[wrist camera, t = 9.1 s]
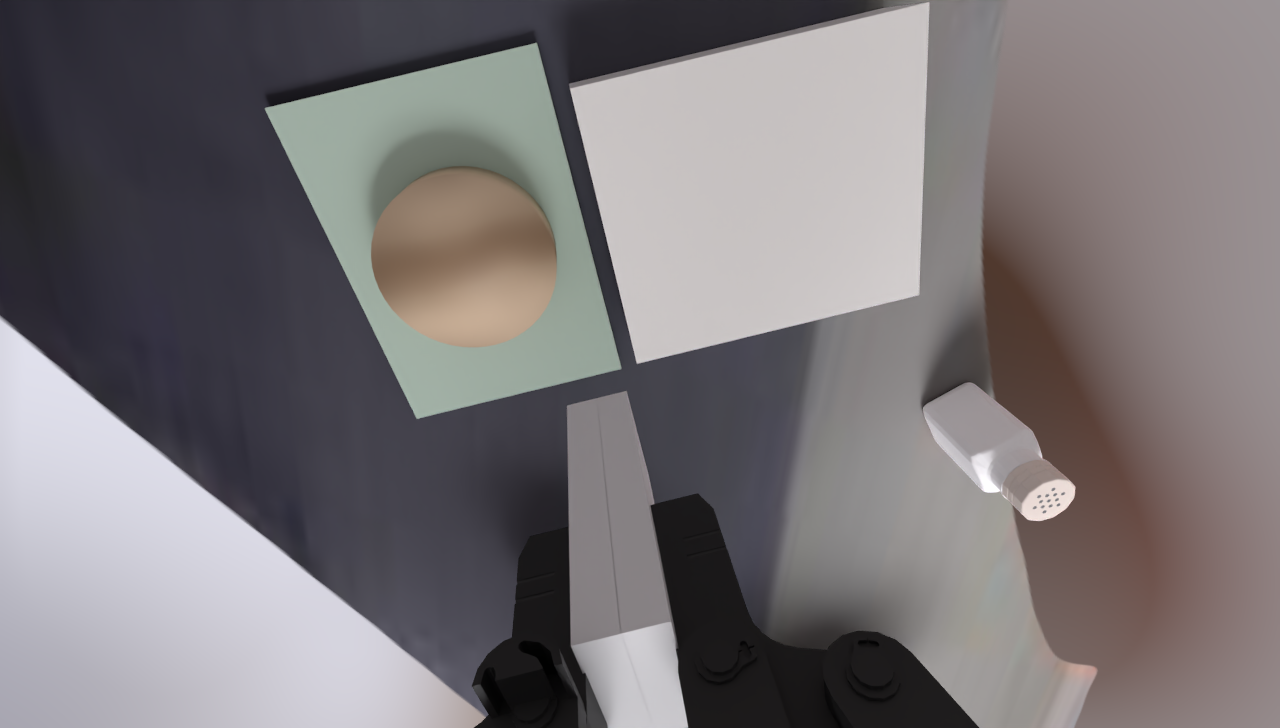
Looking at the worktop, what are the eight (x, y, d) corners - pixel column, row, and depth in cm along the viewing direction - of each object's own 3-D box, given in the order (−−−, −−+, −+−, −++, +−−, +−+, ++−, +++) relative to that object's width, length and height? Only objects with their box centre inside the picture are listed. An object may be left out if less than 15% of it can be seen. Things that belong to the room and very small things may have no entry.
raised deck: (883, 270, 35) (919, 295, 32) (629, 332, 35) (636, 363, 32) (884, 7, 29) (929, 1, 25) (568, 83, 28) (569, 88, 25)
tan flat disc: (574, 307, 33) (576, 324, 31) (423, 345, 33) (414, 364, 31) (528, 147, 29) (526, 154, 27) (353, 189, 29) (337, 200, 27)
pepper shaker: (933, 441, 43) (1023, 537, 34) (916, 404, 41) (1007, 496, 32) (984, 414, 42) (1088, 505, 34) (969, 375, 40) (1076, 461, 32)
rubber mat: (620, 364, 36) (621, 368, 36) (418, 413, 36) (416, 418, 36) (537, 42, 27) (536, 42, 27) (270, 107, 27) (264, 108, 27)
